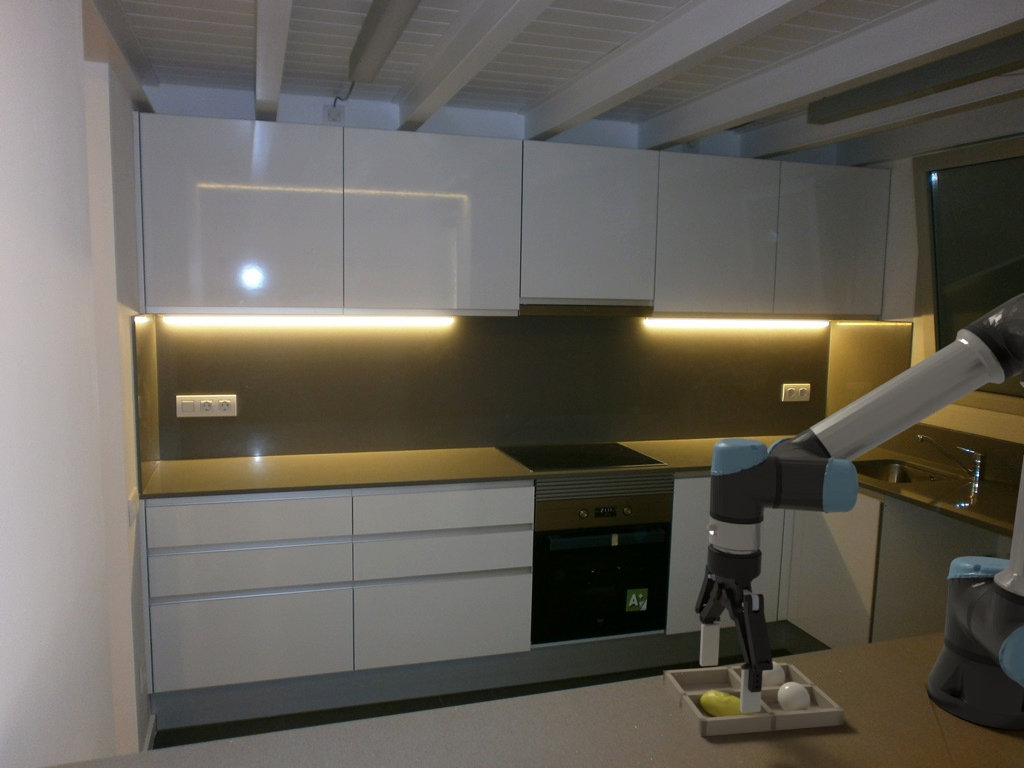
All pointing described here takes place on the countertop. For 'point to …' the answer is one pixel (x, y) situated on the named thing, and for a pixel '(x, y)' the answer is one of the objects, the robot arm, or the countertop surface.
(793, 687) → the egg back left
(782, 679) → the egg back right
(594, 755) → the countertop surface
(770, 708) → the divided tray
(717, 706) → the yellow oval piece
